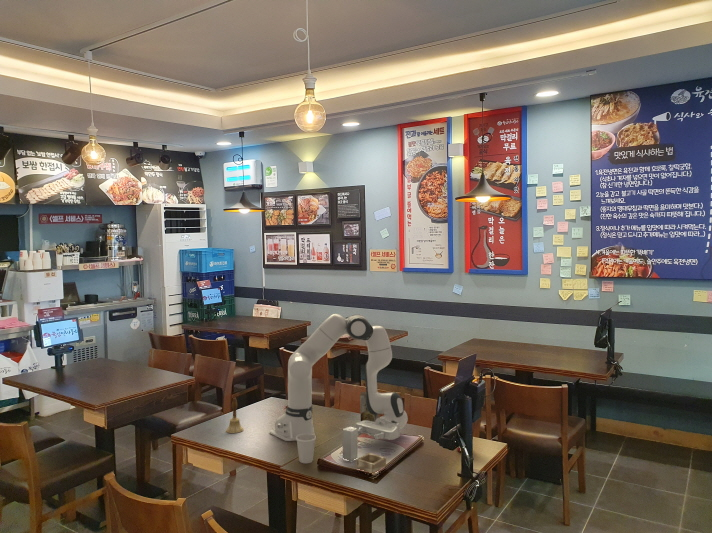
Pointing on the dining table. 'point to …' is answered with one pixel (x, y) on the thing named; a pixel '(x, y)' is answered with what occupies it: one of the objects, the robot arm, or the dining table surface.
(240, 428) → the hand bell
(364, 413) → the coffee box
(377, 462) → the box
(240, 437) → the dining table surface
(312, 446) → the dixie cup
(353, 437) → the peg
